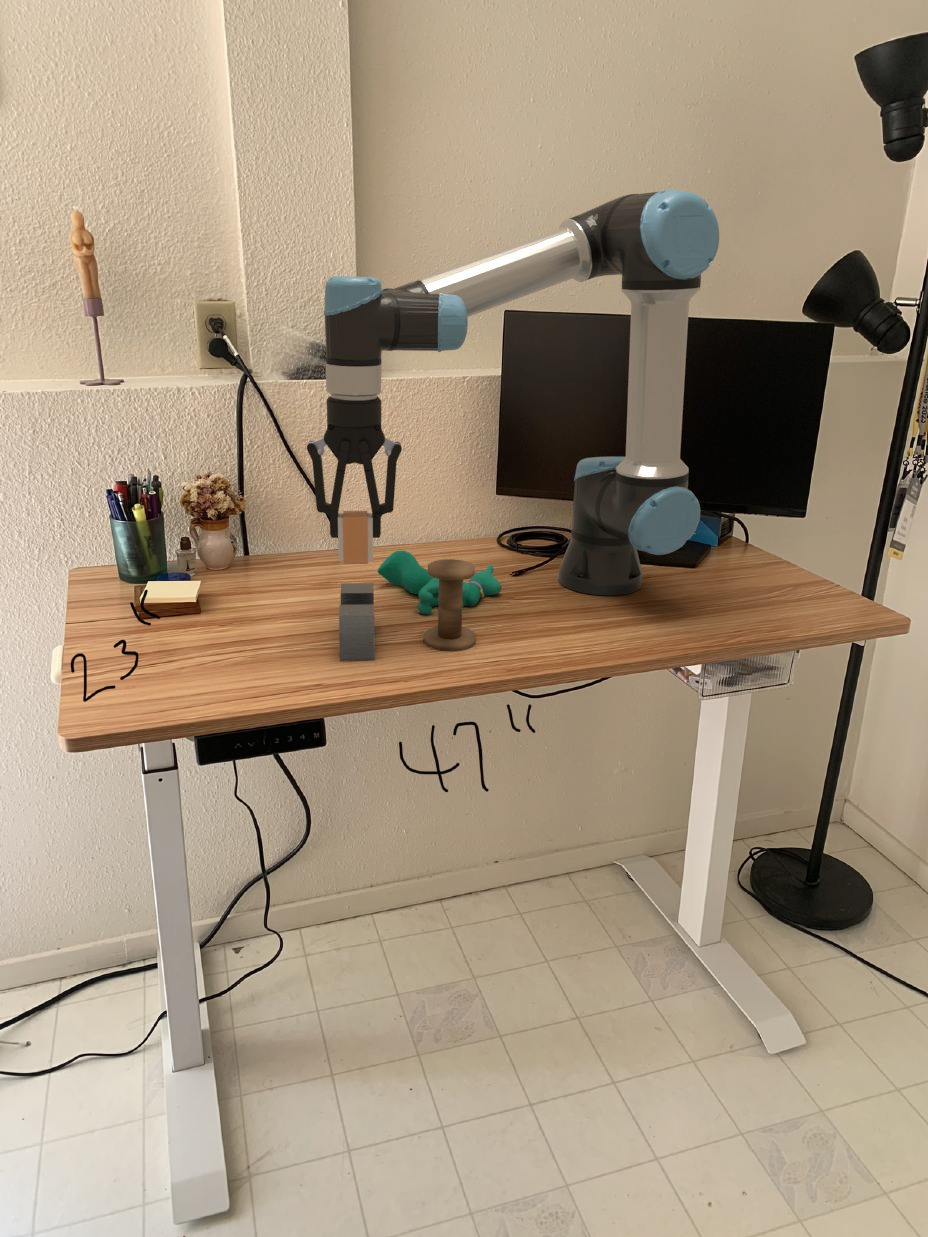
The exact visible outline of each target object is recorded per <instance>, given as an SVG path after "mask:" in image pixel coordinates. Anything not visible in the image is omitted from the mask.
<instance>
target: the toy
mask: <svg viewBox="0 0 928 1237" xmlns="http://www.w3.org/2000/svg"><path fill="white" fill-rule="evenodd" d="M493 573H494V566H493V565H491V564H489V565H487V567H486V568H485V570H481V571H477V572H476V573H475V574H474V576H473V577H471V578H469V580H468V581H467V582H466V581H463V597H462V608H463V607H473V606H475V605H477V604H478V602H479V601H480V598H484V597H485V596H494V595H497V594H498V593H500V591H501V590H502V587H503V586H501V582H499V580H497V579H496V576H495V575H494V574H493ZM377 574H379V576H381V577H382V578H384V579H385V580H387V581H388V582H389V583H390V584H392V585H394V586H399V587H402V588H404V589H406V590H407V591H408V592H409V593H410V594H413V595H418V598H419V602H418V603H417V611H418V612H419V613H420V614H422V615H431V613H432V612H433V607H436V606H438V602H439V579H437V578H434V577H431V576H430V575H429V574H428V569H426V568H424V567H423V566H422V565H420V563H419V562H418V560H417V559H416V558H415V556H414V554H412V553H410V552H409V551H407V550H401V549H400V550H396V551H394V552H392V553H391V554H390V555H389V556H387V558H386V559H385V560H384V561H383V562H382V563H381V564H380V566H379V567H378V569H377Z"/></svg>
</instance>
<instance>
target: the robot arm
mask: <svg viewBox="0 0 928 1237" xmlns="http://www.w3.org/2000/svg"><path fill="white" fill-rule="evenodd" d="M719 244H720V228H719V223H718V219H717V216H716V214H715V211H714V210H713V208H712V207H711V206H710V205H709V204H708V202H707V201H706V200H705V199H704V198H703V197H702V196H700V195H698V194H697V193H694V192H691V191H688V190H687V191H686V190H674V189H668V190H666V189H665V190H660V191H653V192H646V193H644V192H643V193H630V194H626V195H622V196H619V197H617V198H615V199H611V200H610V201H607V202H605V203H603V204H601V205H598V206H596V207H594V208H591V209H588V210H587V211H584V212H582V213H580V214H577V215H574V216H573V217H570V218H567V219H564V220H563V221H562V222H561V223H560V225H559V227H558V229H557V230H554V231H551V232H548V233H545V234H543V235H539V236H537V237H535V238H532V239H528V240H526V241H523V242H520V243H518V244H515V245H514V244H513V245H512V246H509V247H507V248H503V249H501V250H498V251H494V252H492V253H490V254H487V255H484V256H481V257H479V258H475V259H473V260H470V261H467V262H464V263H461V264H459V265H456V266H454V267H450V268H448V269H444V270H442V271H438V272H436V273H434V274H433V273H432V275H428V276H425V277H422V278H420V279H417V280H416V281H411V282H408V283H406V284H403V285H400V286H397V287H394V288H390V287H389V288H388V287H385V288H382V281H381V280H380V279H379V278H377V277H374V276H373V277H372V276H368V277H367V276H346V275H345V276H344V275H343V276H339V275H335V276H331V277H330V278H328V279H327V281H326V282H325V286H324V310H323V315H324V330H325V331H324V332H325V335H324V336H325V357H326V358H325V383H326V384H325V385H326V386H325V388H326V390H325V391H326V393H328V394H329V396H328V397H327V399H326V430H325V432H324V434H323V437H321V438H318V439H316V440H309V441H308V443H307V445H306V450H307V453H308V455H309V457H310V459H311V460H312V472H313V483H314V485H313V486H314V494H315V495H314V496H315V506H316V511H317V512H318V513H324V514H325V515H328V517H329V535H330V538H332V539H333V538H334V539H338V540H337V545H338V546H337V548H338V549H337V550H338V551H337V552H338V553H337V554H338V562H344V553H343V512H341V513H340V512H339V510H340V504H341V499H342V493H343V486H344V481H345V473H346V468H347V465H351V464H358V465H362V466H363V467H362V468H363V471H364V476H365V482H366V485H367V486H366V487H367V492H368V498H369V503H370V507H371V509H370V510H371V512H368V562H374V550H373V549H374V543H373V542H374V538H375V539H376V538H377V539H380V537H381V535H382V520H381V518H382V517H383V515H385V514H390V513H392V512H393V511H394V505H395V504H394V502H395V490H396V477H397V476H396V475H397V461H398V459H399V457H400V455H401V453H402V450H403V448H402V443H401V442H399V441H393V440H391V439H388V438H387V437H385V436H386V435H385V433H384V432H383V429H382V428H383V427H382V399H381V398H380V397H379V395H380V394H381V393H382V353H383V352H382V351H386V352H392V351H405V352H406V351H407V352H408V351H411V352H412V351H415V352H417V351H418V352H419V351H420V352H422V351H423V352H424V351H425V352H433V351H434V352H437V353H441V352H443V351H445V352H446V351H455V350H459V349H460V348H461V347H462V346H463V345H464V343H465V341H466V337H467V333H468V327H469V326H468V325H469V324H468V323H469V322H468V321H469V320H468V319H469V317H472V316H474V315H477V314H480V313H482V312H486V311H487V310H490V309H493V308H496V307H498V306H501V305H504V304H506V303H507V304H508V303H509V302H512V301H515V300H518V299H520V298H523V297H527V296H529V295H532V294H534V293H536V292H540V291H542V290H545V289H547V288H550V287H553V286H556V285H558V284H561V283H563V282H567V281H569V280H570V281H571V279H573V280H575V281H576V282H579V283H582V282H586V281H588V280H591V279H595V278H598V277H603V276H616V275H620V276H621V292H622V293H623V294H624V295H625V296H626V298H627V299H628V300H629V302H630V330H629V333H630V334H629V355H628V356H629V358H628V359H629V360H628V383H627V384H628V386H627V410H626V411H627V412H626V414H627V416H626V437H625V440H626V442H625V456H595V457H593V456H592V457H586V458H583V459H581V460H579V462H577V464H576V469H575V475H574V479H573V482H574V487H573V488H574V489H573V490H574V491H573V505H572V521H571V533H570V535H571V536H570V541H569V543H568V546H567V548H566V550H565V553H564V556H563V558H562V561H561V563H560V565H559V568H558V582H559V583H560V584H561V585H562V586H563V587H564V588H567V589H568V590H569V589H570V590H571V591H574V592H578V593H582V594H587V595H594V596H596V595H597V596H622V595H628V594H632V593H635V592H637V591H639V590H640V589H641V587H642V585H643V584H642V581H643V572H642V571H643V570H642V567H641V563H640V558H639V553H638V551H640V552H641V551H642V552H646V553H648V554H651V555H656V556H663V555H667V554H671V553H673V552H675V551H677V550H680V548H682V547H683V546H684V545H685V544H686V542H687V541H688V540H690V539H691V538H692V537H693V535H694V533H695V532H696V531H697V528H698V525H699V522H700V520H701V506H700V503H699V502H700V501H699V500H698V498H697V497H696V496H695V494H694V492H692V490H690V489H689V488H688V487H689V473H690V472H689V470H690V469H689V467H688V465H686V464H685V462H684V461H683V460H682V459H681V445H682V430H683V410H684V394H685V393H684V392H685V379H686V378H685V376H686V359H687V345H688V344H687V343H688V328H689V326H688V325H689V312H690V311H689V310H690V309H689V308H690V301H691V300H692V298H694V297H695V295H696V294H698V292H699V291H700V290H701V285H702V284H701V282H702V274H703V273H704V272H706V270H707V269H708V268H709V267H710V264H711V262H713V261H714V260H715V258H716V256H717V254H718V249H719ZM325 446H327V447H328V449H329V450H330V451H331V453H332V455H334V457H335V458H336V459H337V464H336V469H335V470H336V471H335V477H334V481H333V482H334V483H333V489H332V495H331V502H330V503H328V502H326V490H325V480H324V468H323V466H324V465H323V458H322V456H323V455H324V453H325ZM382 447H384V454H385V455H386V456H387V460H386V461H387V462H386V463H387V464H386V477H385V492H384V493H385V494H384V502H383V503H380V498H379V494H378V488H377V482H376V478H375V471H374V466H373V459H374V458H375V456H376V455H377V453H378V452H379V451H380V449H381V448H382Z"/></svg>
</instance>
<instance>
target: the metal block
mask: <svg viewBox="0 0 928 1237" xmlns="http://www.w3.org/2000/svg"><path fill="white" fill-rule="evenodd" d="M374 587H375V586H374V583H372V582H371V583H370V582H369V583H368V582H366V583H363V582H362V583H361V582H360V583H359V582H358V583H357V582H355V583H341V584H340V604H339V610H338V633H339V634H338V635H339V637H338V638H339V643H338V644H339V661H340V662H349V661H350V662H353V661H355V662H360V661H362V662H363V661H366V662H367V661H375V660H376V659H375V658H376V657H375V653H376V652H375V649H376V648H375V604H374V603H375V596H374V595H375V592H374V589H375V588H374Z"/></svg>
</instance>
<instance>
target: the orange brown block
mask: <svg viewBox="0 0 928 1237" xmlns="http://www.w3.org/2000/svg"><path fill="white" fill-rule="evenodd" d="M342 513H343V553H344V561H343V564H344V565H368V564H369V561H368V513H369V511H368V510H343V511H342Z"/></svg>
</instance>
